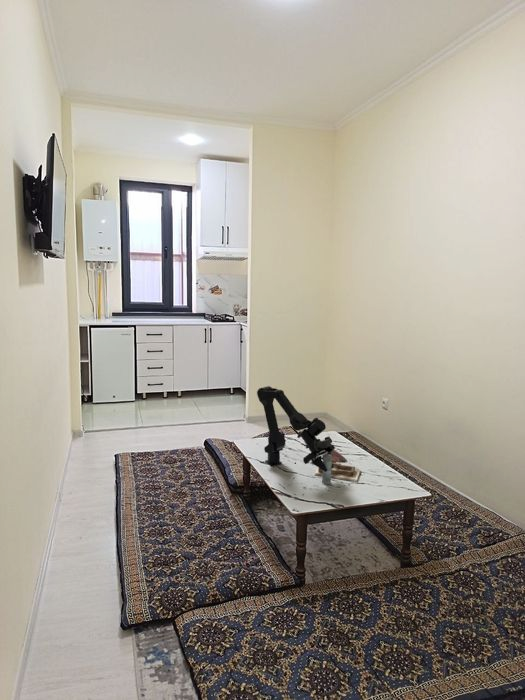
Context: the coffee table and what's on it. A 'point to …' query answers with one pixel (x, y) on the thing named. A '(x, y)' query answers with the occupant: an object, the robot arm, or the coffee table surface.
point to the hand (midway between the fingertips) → (329, 469)
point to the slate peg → (328, 464)
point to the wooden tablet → (337, 457)
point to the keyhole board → (342, 472)
